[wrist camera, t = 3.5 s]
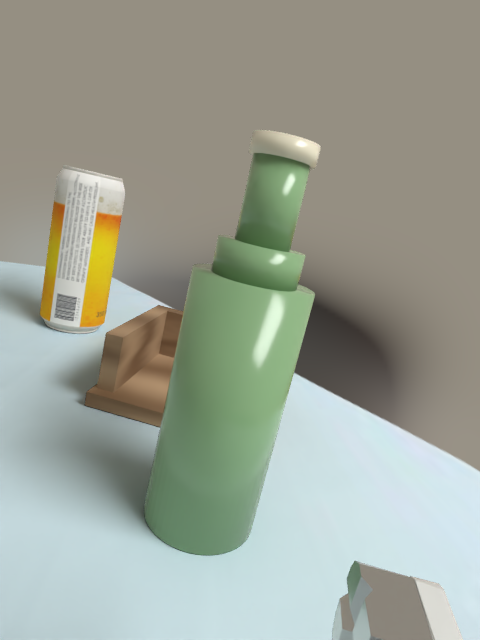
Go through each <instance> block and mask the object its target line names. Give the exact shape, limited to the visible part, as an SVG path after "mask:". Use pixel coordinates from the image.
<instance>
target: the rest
mask: <svg viewBox="0 0 480 640" xmlns="http://www.w3.org/2000/svg"><path fill="white" fill-rule="evenodd" d="M182 317H183V311H179V310H175V309H171V308H168V307H164V306H160V305H158V306H156V307H154V308H152V309H151V310H149V311H147V312H145V313H143V314H141V315H139V316H137V317H135V318H134V319H132V320H130V321H128V322H126V323H124V324H122V325H120V326H118V327H117V328H115V329H113V330H111V331H109V332H107V333H106V337H105V343H104V349H103V355H102V361H101V367H100V373H99V379H98V384H96V385H95V386H94V387H92V388H91V389H90V390H88V391H87V393H86V399H85V406H89V407H92V408H96V409H99V410H103V411H106V412H110V413H113V414H117V415H120V416H124V417H127V418H131V419H134V420H138V421H141V422H144V423H148V424H151V425H155V426H158V427H160V426H161V421H162V416H163V411H164V406H165V401H166V396H167V391H168V386H169V381H170V376H171V371H172V366H173V361H174V356H175V351H176V347H177V342H178V337H179V332H180V327H181V322H182Z"/></svg>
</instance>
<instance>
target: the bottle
mask: <svg viewBox="0 0 480 640" xmlns="http://www.w3.org/2000/svg"><path fill="white" fill-rule="evenodd" d="M320 149H321V147H320V145H318V144H317V143H315V142H312V141H310V140H307V139H304V138H301V137H298V136H294V135H290V134H286V133H281V132H275V131H268V130H256V131H253V135H252V139H251V144H250V148H249V154H250V155H252V156H253V158H252V162H251V167H250V171H249V176H248V180H247V185H246V189H245V194H244V198H243V203H242V208H241V212H240V217H239V221H238V226H237V230H236V235H235V237H233V236H227V235H218V239H217V245H216V249H215V254H214V258H213V263H212V264H195V265H193V268H192V272H191V278H190V282H189V287H188V292H187V297H186V302H185V307H184V312H183V317H182V322H181V327H180V332H179V337H178V342H177V347H176V351H175V356H174V361H173V366H172V371H171V376H170V381H169V386H168V391H167V396H166V401H165V406H164V411H163V416H162V421H161V426H160V431H159V436H158V441H157V446H156V451H155V456H154V460H153V465H152V470H151V475H150V480H149V485H148V490H147V495H146V500H145V505H144V516H145V520H146V522H147V524H148V526H149V528H150V529H151V530H152V532H153V533H154V534H155V535H156V536H157V537H158V538H159V539H161V540H162V541H163V542H165V543H166V544H168V545H170V546H172V547H174V548H176V549H178V550H181V551H184V552H187V553H192V554H197V555H219V554H223V553H227V552H230V551H232V550H234V549H236V548H238V547H239V546H241V545H242V544H243V543H244V542H245V541H246V540H247V538H248V537H249V535H250V532H251V529H252V525H253V521H254V518H255V514H256V510H257V506H258V503H259V499H260V495H261V492H262V488H263V484H264V481H265V477H266V473H267V470H268V466H269V462H270V459H271V455H272V451H273V447H274V444H275V440H276V436H277V433H278V429H279V425H280V422H281V418H282V414H283V411H284V407H285V403H286V400H287V396H288V392H289V388H290V385H291V381H292V377H293V374H294V370H295V366H296V363H297V359H298V355H299V352H300V348H301V344H302V341H303V337H304V333H305V329H306V326H307V322H308V318H309V315H310V311H311V307H312V304H313V300H314V296H315V293H314V292H313V291H311V290H309V289H307V288H305V287H303V286H301V285H298V283H299V279H300V275H301V271H302V267H303V264H304V260H305V255H304V254H302V253H299V252H296V251H293V250H290V248H291V244H292V239H293V236H294V232H295V228H296V224H297V220H298V216H299V212H300V208H301V204H302V200H303V196H304V192H305V188H306V184H307V180H308V176H309V172H310V169H315V168H316V165H317V161H318V157H319V153H320Z"/></svg>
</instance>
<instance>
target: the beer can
mask: <svg viewBox="0 0 480 640" xmlns="http://www.w3.org/2000/svg"><path fill="white" fill-rule="evenodd" d="M124 197H125V190H124V186H123V179H121V178H116V177H112V176H108V175H104V174H100V173H96V172H92V171H87V170H83V169H79V168H75V167H70V166H66V165H64V166H63V169H62V171H61V172H60V173H59V175H58V176H57V182H56V190H55V197H54V206H53V213H52V222H51V229H50V237H49V245H48V253H47V261H46V269H45V277H44V285H43V293H42V301H41V309H40V316H41V317H42V318H43V319H44V321H45V324H46V325H47V326H48V327H50V328H52V329H55V330H58V331H62V332H67V333H79V334H83V333H91V332H95V331H96V330H97V329H98V327H99V326H101V325H102V324H103V323H104V321H105V315H106V309H107V302H108V296H109V290H110V284H111V278H112V272H113V265H114V259H115V253H116V247H117V241H118V234H119V228H120V222H121V216H122V210H123V203H124Z"/></svg>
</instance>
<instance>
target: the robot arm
mask: <svg viewBox="0 0 480 640" xmlns="http://www.w3.org/2000/svg"><path fill="white" fill-rule="evenodd" d="M347 584H348V594H346V595H345V596H343V597H342V598H340V600H339V603H338V607H337V610H336V613H335V618H334V624H333V630H332V640H463V638H462V636H461V633H460V630H459V628H458V625H457V623H456V620H455V617H454V615H453V612H452V610H451V607H450V604H449V602H448V599H447V597H446V594H445V591H444V589H443V588H442V587H441V586H440V585H439V584H438V583H434V582H430V581H427V580H423V579H419V578H416V577H412V576H410V577H408V576H405V575H401V574H398V573H395V572H391V571H388V570H385V569H381V568H378V567H375V566H371V565H368V564H365V563H361V562H358V561H354V563H353V565H352V566H351V568H350V571H349V574H348V577H347Z"/></svg>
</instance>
